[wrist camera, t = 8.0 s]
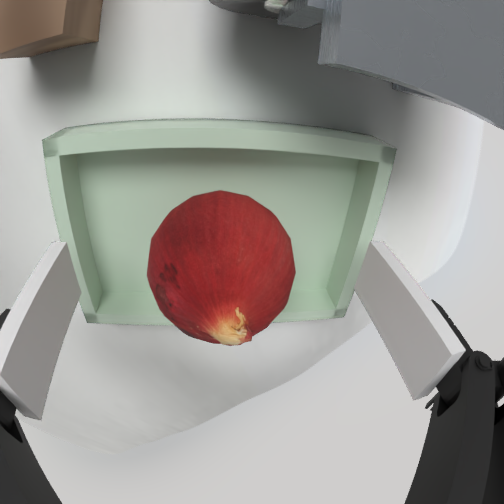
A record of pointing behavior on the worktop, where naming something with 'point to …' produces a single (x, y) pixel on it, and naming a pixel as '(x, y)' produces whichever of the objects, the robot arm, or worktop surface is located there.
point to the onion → (221, 267)
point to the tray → (208, 180)
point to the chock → (46, 25)
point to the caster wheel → (407, 44)
